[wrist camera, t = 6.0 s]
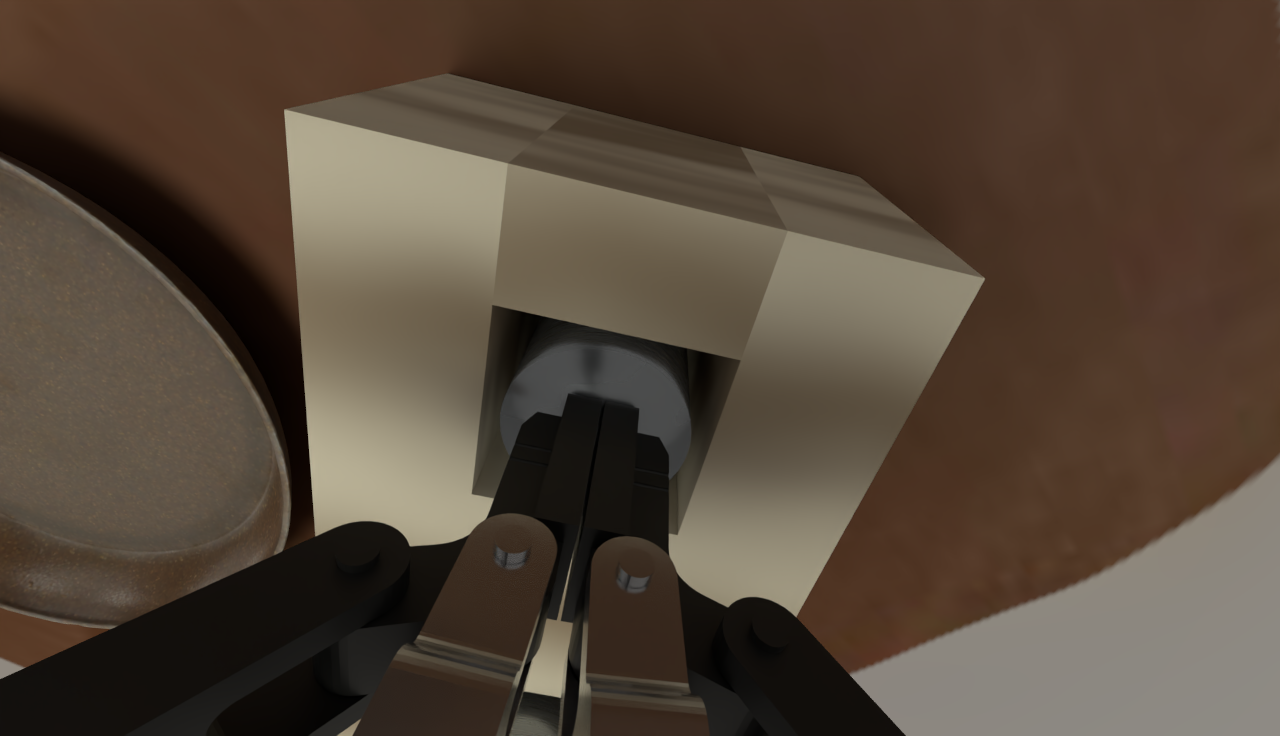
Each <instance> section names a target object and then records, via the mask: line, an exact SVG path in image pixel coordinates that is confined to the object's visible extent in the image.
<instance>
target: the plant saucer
mask: <svg viewBox="0 0 1280 736" xmlns="http://www.w3.org/2000/svg"><path fill="white" fill-rule="evenodd" d="M291 502H292V481H291V469H290V461H289V454H288V449H287V444H286V439H285V435H284V432H283V428H282V425H281V421H280V418H279V415H278V412H277V409H276V407H275V404H274V401H273V399H272V397H271V394H270V392H269V390H268V388H267V385H266V383H265V381H264V379H263V376H262V375H261V373H260V371H259V369H258V368H257V366H256V364H255V362H254V360H253V359H252V357H251V355H250V353H249V352H248V350H247V348H246V347H245V345H244V344H243V342H242V341H241V339H240V338H239V336H238V335H237V333H236V332H235V331H234V329H233V328H232V327H231V325H230V324H229V323H228V321H227V320H226V319H225V318H224V316H223V315H222V314H221V313H220V311H219V310H218V309H217V308H216V307H215V306H214V305H213V303H212V302H211V301H210V300H209V299H208V298H207V297H206V295H205V294H204V293H203V292H202V291H201V290H200V289H199V288H198V287H197V286H196V285H195V284H194V283H193V282H192V281H191V280H190V279H189V278H188V277H187V276H186V275H185V274H184V273H183V272H182V271H181V270H180V269H179V268H178V267H177V266H176V265H175V264H174V263H173V262H171V261H170V260H169V259H168V258H167V257H166V256H165V255H164V254H162V253H161V252H160V251H159V250H158V249H157V248H155V247H154V246H153V245H152V244H150V243H149V242H148V241H147V240H145V239H144V238H143V237H142V236H140V235H139V234H138V233H137V232H135V231H134V230H133V229H132V228H130V227H129V226H127V225H126V224H125V223H123V222H122V221H120V220H119V219H118V218H116V217H115V216H113V215H112V214H111V213H109V212H108V211H106V210H105V209H103V208H102V207H100V206H99V205H97V204H96V203H94V202H92V201H91V200H89V199H88V198H86V197H84V196H83V195H81V194H80V193H78V192H77V191H75V190H73V189H71V188H70V187H68V186H66V185H64V184H62V183H61V182H59V181H57V180H55V179H54V178H52V177H50V176H48V175H46V174H45V173H43V172H41V171H39V170H37V169H35V168H33V167H31V166H29V165H27V164H25V163H23V162H21V161H19V160H17V159H15V158H13V157H11V156H8V155H6V154H4V153H2V152H0V608H3V609H6V610H10V611H13V612H17V613H21V614H24V615H28V616H33V617H37V618H41V619H45V620H49V621H54V622H59V623H64V624H77V625H81V626H85V627H93V628H106V629H112V628H115V627H117V626H119V625H121V624H123V623H126V622H128V621H130V620H132V619H134V618H137V617H139V616H141V615H143V614H145V613H148V612H150V611H152V610H154V609H157V608H159V607H161V606H163V605H165V604H168V603H170V602H172V601H174V600H176V599H179V598H181V597H183V596H185V595H187V594H190V593H192V592H194V591H196V590H198V589H201V588H203V587H205V586H207V585H209V584H212V583H214V582H216V581H218V580H220V579H223V578H225V577H227V576H229V575H232V574H234V573H236V572H238V571H240V570H243V569H245V568H247V567H249V566H251V565H254V564H256V563H258V562H260V561H262V560H265V559H267V558H269V557H271V556H273V555H276V554H278V553H280V552H282V551H283V549H284V546H285V544H286V541H287V536H288V531H289V526H290V515H291Z"/></svg>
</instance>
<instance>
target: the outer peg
mask: <svg viewBox="0 0 1280 736" xmlns="http://www.w3.org/2000/svg"><path fill="white" fill-rule="evenodd" d="M560 703H561V698H560V697H554V696H548V695H543V694H537V693H531V692H525V691H524V693H523V696H522V700H521V703H520V706H519V710H518V713H517V716H516V720H515V723H514V726H513V730H512V733H511V736H558V726H559V714H560Z"/></svg>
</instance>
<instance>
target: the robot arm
mask: <svg viewBox="0 0 1280 736" xmlns="http://www.w3.org/2000/svg"><path fill="white" fill-rule="evenodd" d="M601 406H602V400H598V399H593V398H588V397H584V396H579V395H574V394H570V393H568V396H567V399H566V403H565V406H564V410H563V414H562V417H561V416H556V415H551V414H546V413H542V412H536V413H535V414H534V415H533V416H532V417H530V418H529V419H528V420H527V421H525V422H524V423H523V424H522V425H521V428H520V430H519V433H518V436H517V438H516V441H515V445H514V446H513V449H512V452H511V454H510V458H509V460H508V462H507V465H506V468H505V470H504V473H503V476H502V478H501V481H500V484H499V487H498V489H497V492H496V495H495V497H494V500H493V503H492V505H491V508H490V511H489V513H488V515H487V517H486V519H485V520H484V521H482V522H481V523H479V524H478V525H477V526H476V527H475V528H474V529H473V530H472V532H471V533H470V534H469V535H467V536H466V537H464V538H461V539H459V540H456V541H453V542H449V543H443V544H435V545H421V546H410V545H409V543H408V541H407V539H406V538H405V536H404V535H403V534H402V533H401V532H400V531H399V530H397V529H396V528H394V527H392V526H390V525H387V524H384V523H380V522H374V521H358V522H351V523H347V524H343V525H341V526H338V527H335V528H333V529H331V530H329V531H326V532H324V533H322V534H320V535H318V536H315V537H313V538H311V539H309V540H307V541H304V542H302V543H300V544H298V545H295V546H293V547H291V548H289V549H287V550H284V551H282V552H280V553H278V554H276V555H273V556H271V557H269V558H267V559H265V560H262V561H260V562H258V563H256V564H254V565H251V566H249V567H247V568H245V569H243V570H240V571H238V572H236V573H234V574H232V575H229V576H227V577H225V578H223V579H220V580H218V581H216V582H214V583H212V584H209V585H207V586H205V587H203V588H201V589H198V590H196V591H194V592H192V593H190V594H187V595H185V596H183V597H181V598H179V599H176V600H174V601H172V602H170V603H168V604H165V605H163V606H161V607H159V608H157V609H154V610H152V611H150V612H148V613H145V614H143V615H141V616H139V617H137V618H134V619H132V620H130V621H128V622H126V623H123V624H121V625H119V626H117V627H115V628H112V629H110V630H108V631H106V632H104V633H101V634H99V635H97V636H95V637H93V638H90V639H88V640H86V641H84V642H81V643H79V644H77V645H75V646H73V647H70V648H68V649H66V650H64V651H62V652H59V653H57V654H55V655H53V656H51V657H48V658H46V659H44V660H42V661H40V662H37V663H35V664H33V665H31V666H29V667H26V668H24V669H22V670H20V671H18V672H15V673H13V674H11V675H9V676H6V677H4V678H2V679H0V736H337V735H339V734H340V733H341V732H343V731H344V730H346V729H347V728H349V727H350V726H351V725H353V724H354V723H356V722H357V721H358V720H360V719H361V720H360V722H359V724H358V726H357V728H356V730H355V731H354V733H353V735H352V736H511V733H512V730H513V726H514V723H515V720H516V716H517V713H518V710H519V706H520V703H521V700H522V696H523V693H524V690H525V686H526V683H527V680H528V677H529V673H530V670H531V667H532V663H533V659H534V656H535V655H536V654H537V652H538V650H539V648H540V645H541V641H542V637H543V633H544V628H545V624H546V619H551V620H557V618H558V614H559V609H560V605H561V601H562V597H563V593H564V589H565V585H566V580H567V576H568V572H569V568H570V573H569V578H568V584H567V589H566V594H565V600H564V605H563V611H562V616H561V621H563V622H569V623H573V625H572V631H571V637H570V644H569V648H568V652H567V655H566V659H565V663H564V669H563V680H562V691H561V703H560V714H559V726H558V736H905V734H904V733H903V732H902V731H901V730H900V729H899V728H898V727H897V726H896V725H895V724H894V723H893V721H892V720H891V719H890V718H889V717H888V716H887V715H886V714H885V713H884V712H883V711H882V710H881V708H880V707H879V706H878V705H877V704H876V703H875V702H874V701H873V700H872V699H871V698H870V697H869V696H868V694H867V693H866V692H865V691H864V690H863V689H862V688H861V687H860V686H859V685H858V684H857V683H856V681H855V680H854V679H853V678H852V677H851V676H850V675H849V674H848V673H847V672H846V671H845V670H844V668H843V667H842V666H841V665H840V664H839V663H838V662H837V661H836V660H835V659H834V658H833V657H832V655H831V654H830V653H829V652H828V651H827V650H826V649H825V648H824V647H823V646H822V645H821V644H820V642H819V641H818V640H817V639H816V638H815V637H814V636H813V635H812V634H811V633H810V632H809V631H808V629H807V628H806V627H805V626H804V625H803V624H802V623H801V622H800V621H799V620H798V619H797V618H796V617H795V616H794V615H793V614H792V613H791V612H790V611H788V610H787V609H786V608H785V607H783V606H781V605H779V604H778V603H776V602H773V601H771V600H768V599H765V598H760V597H746V598H741V599H739V600H736V601H735V602H733V603H732V604H731V605H730V606H729V607H726V606H724V605H722V604H720V603H718V602H716V601H714V600H712V599H710V598H708V597H706V596H704V595H702V594H701V593H699V592H697V591H696V590H694V589H693V588H691V587H690V586H689V585H688V584H687V583H686V582H685V581H683V579H682V578H681V577H680V576H679V575H678V573H677V571H676V568H675V565H674V563H673V562H672V560H671V558H670V556H669V493H668V491H669V477H668V476H669V454H668V452H667V450H666V449H665V447H664V445H663V443H662V441H661V439H660V438H659V437H656V436H651V435H647V434H642V433H638V421H639V408H636V407H631V406H626V405H622V404H617V403H612V402H608V401H605V404H604V408H603V412H602V416H601V420H600V424H599V429H598V433H597V428H598V422H599V417H600V411H601ZM596 433H597V437H596ZM595 439H596V441H595ZM594 444H595V446H594ZM572 556H573V557H572ZM571 560H572V562H571ZM570 564H571V567H570Z"/></svg>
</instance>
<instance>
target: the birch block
mask: <svg viewBox="0 0 1280 736" xmlns="http://www.w3.org/2000/svg"><path fill="white" fill-rule="evenodd" d="M284 112H285V126H286V140H287V153H288V167H289V181H290V194H291V208H292V222H293V236H294V249H295V263H296V277H297V290H298V304H299V318H300V332H301V345H302V359H303V373H304V386H305V400H306V414H307V428H308V441H309V455H310V469H311V482H312V496H313V510H314V523H315V536H318V535H320V534H322V533H324V532H326V531H329V530H331V529H333V528H335V527H338V526H341V525H343V524H347V523H351V522H358V521H374V522H380V523H384V524H387V525H390V526H392V527H394V528H396V529H397V530H399V531H400V532H401V533H402V534H403V535H404V536H405V538H406V539H407V541H408V543H409V545H410V546H421V545H435V544H443V543H449V542H453V541H456V540H459V539H461V538H464V537H466V536H467V535H469V534H470V533H471V532H472V530H473V529H474V528H475V527H476V526H477V525H478V524H479V523H481V522H482V521H484V520H485V519H486V517H487V515H488V513H489V511H490V508H491V505H492V503H493V500H494V497H495V495H496V492H497V489H498V487H499V484H500V481H501V478H502V476H503V473H504V470H505V468H506V465H507V462H508V460H509V458H510V456H509V454H508V452H507V450H506V448H505V445H504V443H503V439H502V436H501V430H500V412H501V407H502V403H503V400H504V398H505V395H506V393H507V390H508V388H509V386H510V384H511V381H512V379H513V377H514V375H515V372H516V370H517V368H518V366H519V363H520V361H521V359H522V357H523V354H524V352H525V350H526V348H527V346H528V343H529V341H530V339H531V337H532V334H533V332H534V330H535V328H536V325H537V323H538V321H539V319H540V316H545V317H549V318H554V319H558V320H563V321H567V322H571V323H576V324H580V325H585V326H589V327H594V328H598V329H603V330H607V331H612V332H616V333H621V334H625V335H630V336H634V337H639V338H643V339H648V340H652V341H657V342H661V343H666V344H670V345H674V346H679V347H683V348H687V356H688V376H689V396H690V416H691V442H690V446H689V450H688V453H687V456H686V458H685V460H684V462H683V464H682V466H681V467H680V469H679V470H678V472H677V473H676V474H675V475H674V476H673V477H672V478H671V479H670V480H669V491H668V493H669V556H670V558H671V560H672V562H673V563H674V565H675V568H676V571H677V573H678V575H679V576H680V577H681V578H682V579H683V581H685V582H686V583H687V584H688V585H689V586H690V587H691V588H693V589H694V590H696V591H697V592H699V593H701V594H702V595H704V596H706V597H708V598H710V599H712V600H714V601H716V602H718V603H720V604H722V605H724V606H726V607H729V606H730V605H731V604H732V603H733V602H735V601H736V600H739V599H741V598H746V597H760V598H765V599H768V600H771V601H773V602H776V603H778V604H779V605H781V606H783V607H785V608H786V609H787V610H788V611H790V612H791V613H792V614H793V615H794V616H795V617H796V616H797V614H798V613H799V611H800V609H801V607H802V605H803V604H804V602H805V600H806V598H807V597H808V595H809V593H810V591H811V589H812V588H813V586H814V584H815V582H816V580H817V579H818V577H819V575H820V573H821V571H822V570H823V568H824V566H825V564H826V563H827V561H828V559H829V557H830V555H831V554H832V552H833V550H834V548H835V546H836V545H837V543H838V541H839V539H840V537H841V536H842V534H843V532H844V530H845V529H846V527H847V525H848V523H849V521H850V520H851V518H852V516H853V514H854V512H855V511H856V509H857V507H858V505H859V504H860V502H861V500H862V498H863V496H864V495H865V493H866V491H867V489H868V487H869V486H870V484H871V482H872V480H873V478H874V477H875V475H876V473H877V471H878V470H879V468H880V466H881V464H882V462H883V461H884V459H885V457H886V455H887V453H888V452H889V450H890V448H891V446H892V445H893V443H894V441H895V439H896V437H897V436H898V434H899V432H900V430H901V428H902V427H903V425H904V423H905V421H906V419H907V418H908V416H909V414H910V412H911V411H912V409H913V407H914V405H915V403H916V402H917V400H918V398H919V396H920V394H921V393H922V391H923V389H924V387H925V386H926V384H927V382H928V380H929V378H930V377H931V375H932V373H933V371H934V369H935V368H936V366H937V364H938V362H939V360H940V359H941V357H942V355H943V353H944V352H945V350H946V348H947V346H948V344H949V343H950V341H951V339H952V337H953V335H954V334H955V332H956V330H957V328H958V326H959V325H960V323H961V321H962V319H963V318H964V316H965V314H966V312H967V310H968V309H969V307H970V305H971V303H972V301H973V300H974V298H975V296H976V294H977V293H978V291H979V289H980V287H981V285H982V284H983V282H984V280H985V278H984V277H983V276H981V275H980V274H979V273H978V272H977V271H975V270H974V269H973V268H972V267H970V266H969V265H968V264H967V263H965V262H964V261H963V260H962V259H960V258H959V257H958V256H957V255H956V254H954V253H953V252H952V251H951V250H949V249H948V248H947V247H946V246H944V245H943V244H942V243H941V242H939V241H938V240H937V239H936V238H935V237H933V236H932V235H931V234H930V233H928V232H927V231H926V230H925V229H923V228H922V227H921V226H920V225H918V224H917V223H916V222H915V221H914V220H912V219H911V218H910V217H909V216H907V215H906V214H905V213H904V212H902V211H901V210H900V209H899V208H897V207H896V206H895V205H894V204H893V203H891V202H890V201H889V200H888V199H886V198H885V197H884V196H883V195H881V194H880V193H879V192H878V191H876V190H875V189H874V188H873V187H872V186H870V185H869V184H868V183H867V182H865V181H864V180H863V179H862V178H860V177H859V176H855V175H851V174H847V173H843V172H839V171H835V170H831V169H827V168H823V167H819V166H815V165H811V164H807V163H803V162H799V161H795V160H791V159H787V158H783V157H779V156H775V155H771V154H767V153H763V152H759V151H755V150H751V149H747V148H743V147H739V146H735V145H731V144H727V143H723V142H719V141H715V140H711V139H707V138H703V137H699V136H695V135H691V134H687V133H683V132H679V131H675V130H671V129H667V128H663V127H659V126H655V125H651V124H647V123H643V122H639V121H635V120H631V119H627V118H623V117H619V116H615V115H611V114H607V113H603V112H599V111H595V110H591V109H587V108H583V107H579V106H575V105H571V104H567V103H563V102H559V101H555V100H551V99H547V98H543V97H540V96H536V95H532V94H528V93H524V92H520V91H516V90H512V89H508V88H504V87H500V86H496V85H492V84H488V83H484V82H480V81H476V80H472V79H468V78H464V77H460V76H456V75H452V74H448V73H447V74H443V75H438V76H434V77H429V78H425V79H420V80H416V81H411V82H407V83H402V84H398V85H393V86H388V87H384V88H379V89H375V90H370V91H366V92H361V93H357V94H352V95H348V96H343V97H339V98H334V99H330V100H325V101H320V102H316V103H311V104H307V105H302V106H298V107H293V108H289V109H284ZM572 557H573V556H572ZM571 562H572V560H571ZM570 567H571V564H570ZM569 573H570V568H569V572H568V576H567V580H566V585H565V589H564V593H563V597H562V601H561V605H560V609H559V614H558V618H557V620H551V619H546V624H545V628H544V633H543V637H542V641H541V645H540V648H539V650H538V652H537V654H536V655H535V656H534V659H533V663H532V667H531V670H530V673H529V677H528V680H527V683H526V686H525V690H524V691H525V692H531V693H537V694H543V695H548V696H554V697H560V698H561V691H562V680H563V669H564V663H565V659H566V655H567V652H568V648H569V644H570V637H571V631H572V625H573V623H569V622H563V621H561V616H562V611H563V605H564V600H565V594H566V589H567V584H568V578H569ZM360 720H361V719H360ZM360 720H358V721H357V722H356V723H354V724H353V725H351V726H350V727H349V728H347V729H346V730H344V731H343V732H341V733H340V734H339V735H337V736H352V735H353V733H354V731H355V730H356V728H357V726H358V724H359V722H360Z"/></svg>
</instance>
